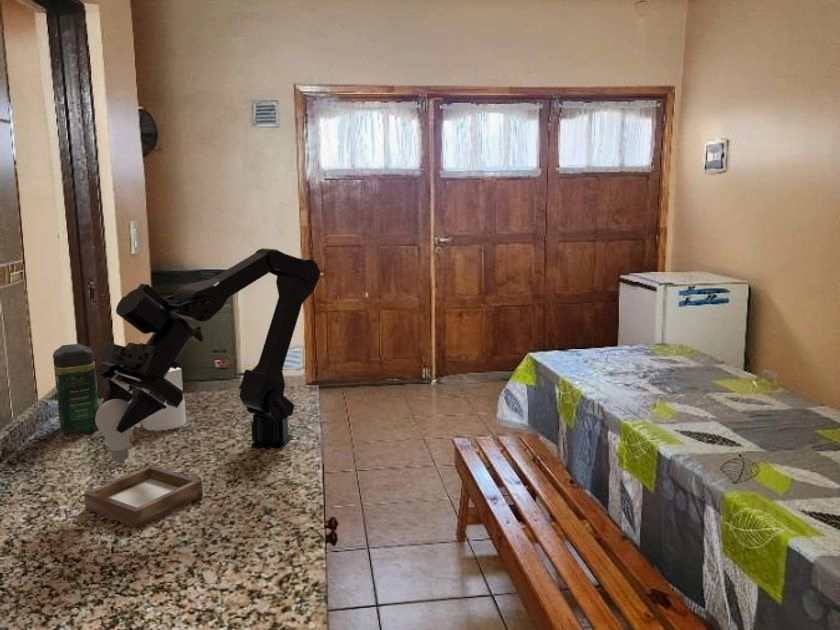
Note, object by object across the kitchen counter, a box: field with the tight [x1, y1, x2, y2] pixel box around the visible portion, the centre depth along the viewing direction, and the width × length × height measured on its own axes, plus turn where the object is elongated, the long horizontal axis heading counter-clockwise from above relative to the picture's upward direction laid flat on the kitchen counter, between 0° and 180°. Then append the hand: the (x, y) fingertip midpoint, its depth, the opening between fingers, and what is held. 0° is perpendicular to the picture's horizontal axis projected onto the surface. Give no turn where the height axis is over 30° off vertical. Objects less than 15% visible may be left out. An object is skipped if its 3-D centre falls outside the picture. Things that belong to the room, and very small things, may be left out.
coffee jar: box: [52, 343, 100, 435], centre depth 148 cm, size 10×8×19 cm
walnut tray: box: [83, 464, 203, 529], centre depth 114 cm, size 13×13×3 cm
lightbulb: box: [95, 399, 134, 464], centre depth 113 cm, size 6×6×11 cm
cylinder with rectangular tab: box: [141, 366, 187, 431], centre depth 151 cm, size 9×9×12 cm
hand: (108, 427), depth 112 cm, fingers closed on lightbulb, 6 cm apart
